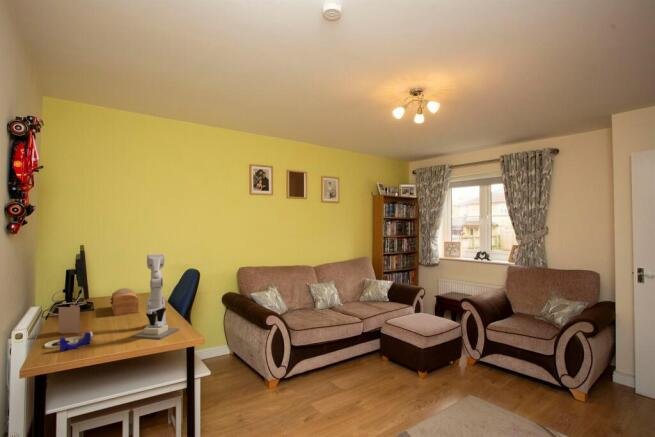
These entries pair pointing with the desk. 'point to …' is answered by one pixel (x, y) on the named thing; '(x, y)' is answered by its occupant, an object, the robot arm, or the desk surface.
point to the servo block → (156, 325)
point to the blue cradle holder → (65, 346)
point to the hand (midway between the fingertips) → (156, 323)
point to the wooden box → (124, 302)
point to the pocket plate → (155, 332)
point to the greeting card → (69, 319)
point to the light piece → (69, 340)
